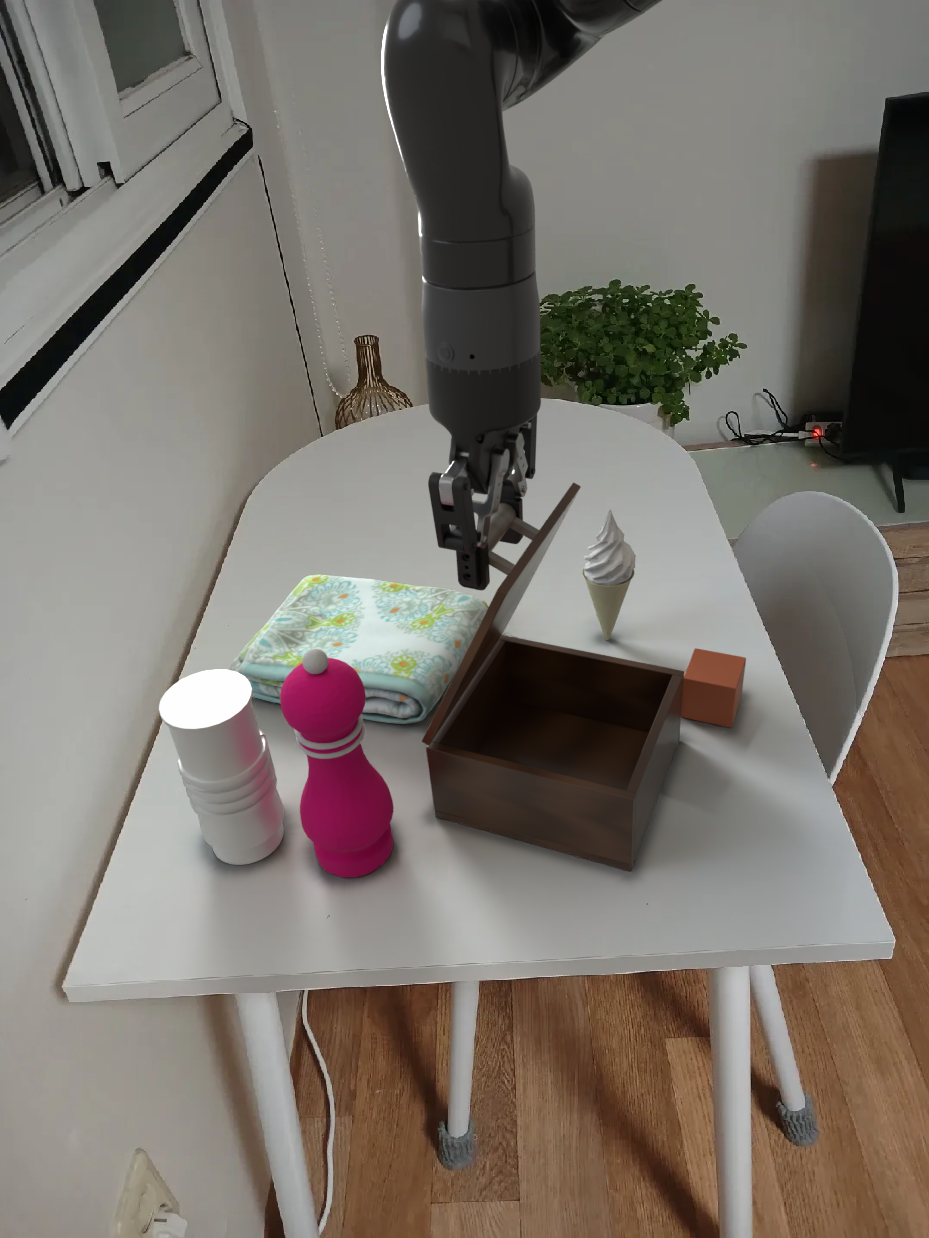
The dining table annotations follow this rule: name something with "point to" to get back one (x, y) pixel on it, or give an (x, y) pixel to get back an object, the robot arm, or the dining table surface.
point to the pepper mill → (337, 767)
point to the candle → (225, 764)
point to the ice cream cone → (609, 573)
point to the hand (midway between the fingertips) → (492, 561)
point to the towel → (368, 641)
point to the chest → (559, 749)
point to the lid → (501, 596)
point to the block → (713, 687)
